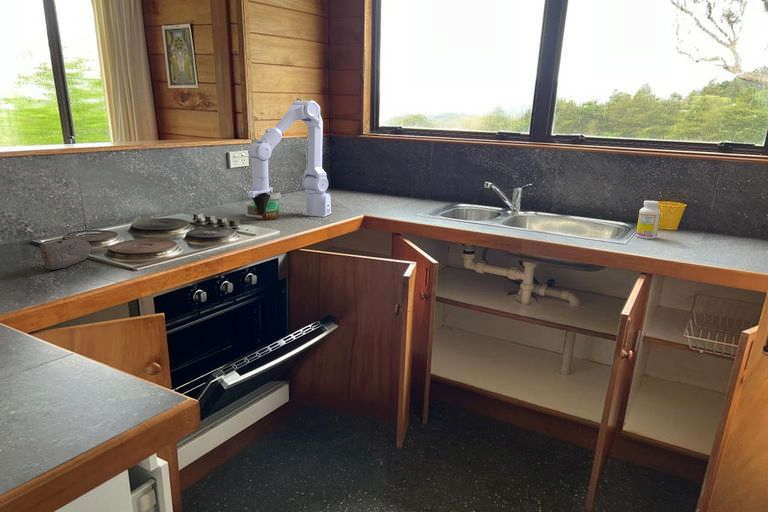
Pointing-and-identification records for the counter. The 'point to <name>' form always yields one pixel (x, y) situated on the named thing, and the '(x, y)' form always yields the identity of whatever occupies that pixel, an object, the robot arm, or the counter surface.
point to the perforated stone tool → (64, 253)
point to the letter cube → (250, 209)
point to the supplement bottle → (648, 220)
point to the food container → (270, 207)
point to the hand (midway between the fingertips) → (261, 214)
